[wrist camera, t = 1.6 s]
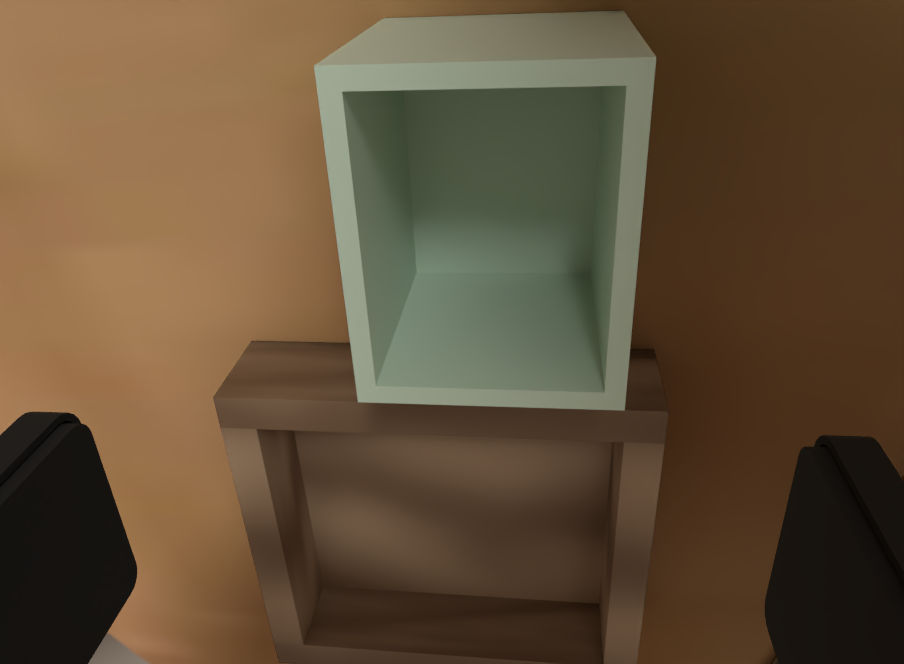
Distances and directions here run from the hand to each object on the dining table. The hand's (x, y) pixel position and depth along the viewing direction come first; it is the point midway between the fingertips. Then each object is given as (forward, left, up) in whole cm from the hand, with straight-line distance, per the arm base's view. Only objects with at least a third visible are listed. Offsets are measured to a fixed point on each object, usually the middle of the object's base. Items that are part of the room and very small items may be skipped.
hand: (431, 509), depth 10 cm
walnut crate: (+13, -2, -14) cm, 19 cm away
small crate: (0, 0, -14) cm, 14 cm away
